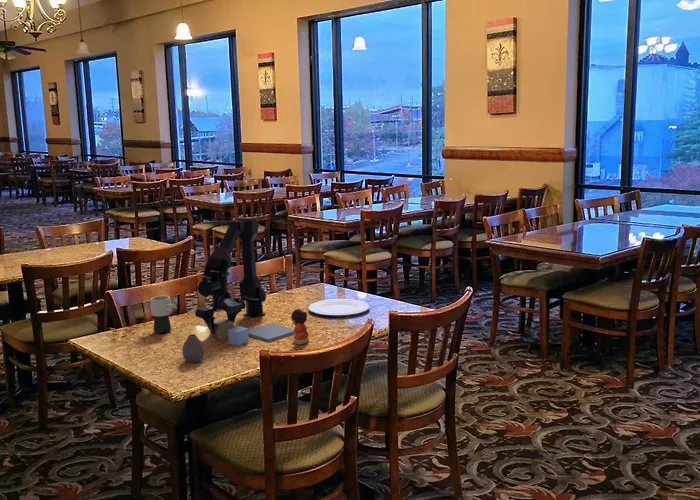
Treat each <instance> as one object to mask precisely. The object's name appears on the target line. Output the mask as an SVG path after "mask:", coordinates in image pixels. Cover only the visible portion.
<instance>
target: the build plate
mask: <svg viewBox="0 0 700 500" xmlns="http://www.w3.org/2000/svg"><path fill="white" fill-rule="evenodd" d="M248 333H249V337H251V338H254V339H257V338H258V340H261V341H264V340H265V342H267V343H268V342H269V343H270V342H273V341H276V340H280V339H283V338H285V337H289V336H291V335H294V328H292V327H287V326H284V325H280V324H276V323H273V322H271V323H268V324H267V323H266V324H264V325H261V326H258V327H254V328H252V329H251V328H250V329H248Z"/></svg>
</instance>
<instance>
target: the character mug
mask: <svg viewBox="0 0 700 500" xmlns="http://www.w3.org/2000/svg"><path fill="white" fill-rule="evenodd" d="M149 306H150V307H149V308H150V311H151V313H150V314H151V316H152V317H154V320H153V332H154V333H167V332H169V331H172V326H171V320H170V317H169V315H170V314H171V313H173V307H172V306H173V305H172V301H171V296H169V295H157V296H153V297H150V300H149Z"/></svg>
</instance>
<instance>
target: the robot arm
mask: <svg viewBox="0 0 700 500" xmlns="http://www.w3.org/2000/svg"><path fill="white" fill-rule="evenodd" d="M259 226H260V224H259V221H258V220H257V219H256V218H255V217H239V218H238V219H237V220H231V221H230V220H229V222H228V228H227V230H226V231H225V234H224V236H223V237H222V240H221V241H220V243H219V246H218V248H216V249H215V250H214V251H213V252H211V254H210V256H209V257H208V258H207V261H206V264H205V267H204V271H203V274H202V276H203V277H202V278H201V279H202V280H201V281H200V282H199V283H198V284H197V292H198V294H200V296H202V297H209V296H210V297H211V301H212V302H211V303H210V307H211V308H210V307H207V306H203V307H198V308H196V309H195V314H194V315H195V318H196V317H197V318H200V319H202V320H203V321H204V323H205V325H206V326H207V328H208V330H209V333H210V332H211V334H214V321H215V320H216V318H217V317H216V316H214V315H215V313H220V312H225V313H226V317H227V320H230V321H233V325H234V324H235V320H236V317H237V315H238V314H239V313H241V312H242V310H246V311H245V313H243V314H242V315H243V317H247V318H251V319H255V318H260V317H262V316H263V317H264V316H265V315H266V313H264V311H263V309H264V308H263V306H264V305H263V303H264V302H265V301H266V299H267V294H266V292H265V291H264V289H263V287H262V281H261V280H260V279H259V277H258V276H257V263H256V249H255V239H256V237H257V235H258V233H259ZM238 239H240V241H241V252H242V253H241V254H242V264H243V265H242V270H243V278H242V280H241V281H240V282H239V284H238V285H239V295H240V296H238V297H235V298H234V297H232V294H231V292H230V291H229V289H228V288H229V287H228V276H230V272H228V271H229V270H230V268H231V264H232V259H231V255H232V252H233V250H234V248H235V246H236V243H237V241H238Z"/></svg>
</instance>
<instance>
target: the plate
mask: <svg viewBox="0 0 700 500" xmlns="http://www.w3.org/2000/svg"><path fill="white" fill-rule="evenodd" d="M369 309H370V304H368V303H367V302H365V301H362V300H358V299H349V298H333V299H331V298H330V299H324V300H318V301H315V302H313V303H311V304H309V306H308V310H309V311H310V312H311V313H313V314H317V315H320V316H326V317H335V318H337V317H338V318H339V317H351V316H354V315H358V314H359V315H360V314H362V313H365V312H367V311H368V310H369Z"/></svg>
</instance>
